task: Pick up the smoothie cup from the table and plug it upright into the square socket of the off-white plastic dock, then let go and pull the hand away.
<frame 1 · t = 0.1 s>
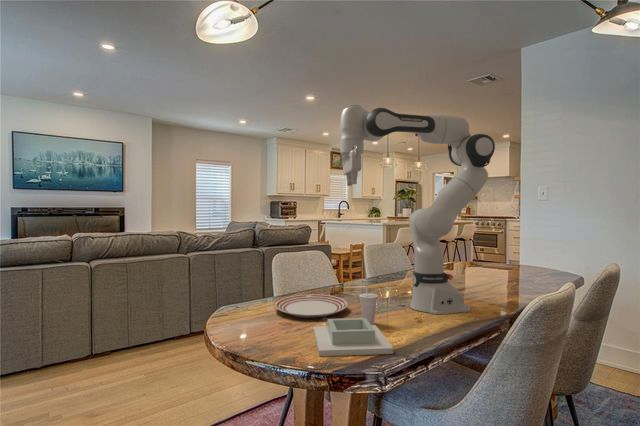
hand: (351, 185, 143), 48 cm above the table, fingers open, 8 cm apart
dinner plate: (311, 311, 143), on the table
smoothie: (368, 324, 126), on the table
socket dock: (350, 341, 109), on the table
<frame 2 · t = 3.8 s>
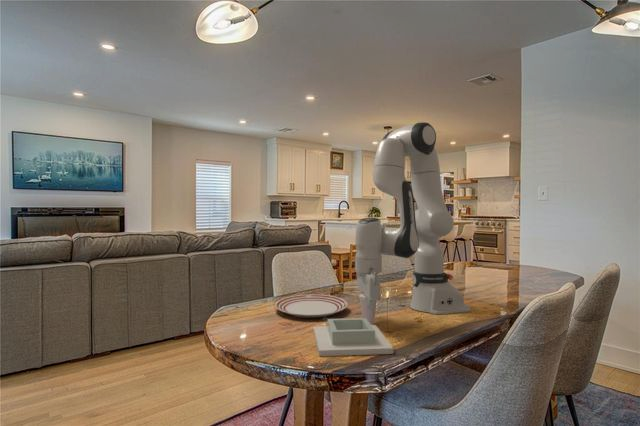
hand: (368, 307, 126), 6 cm above the table, fingers closed on smoothie, 6 cm apart
smoothie: (368, 324, 126), on the table, touching gripper
everything else where it was.
when the fingers open (8 cm above the table, at t = 14.8 s): smoothie stays where it is, resting on socket dock.
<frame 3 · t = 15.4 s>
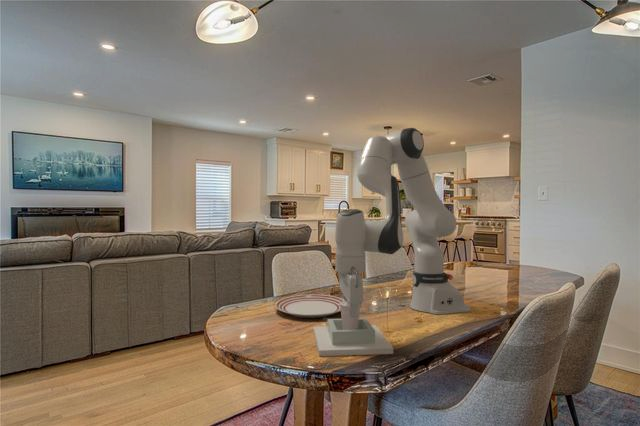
hand: (350, 312, 109), 9 cm above the table, fingers open, 8 cm apart
smoothie: (350, 336, 110), point 1 cm above the table, touching socket dock
everything else where it was.
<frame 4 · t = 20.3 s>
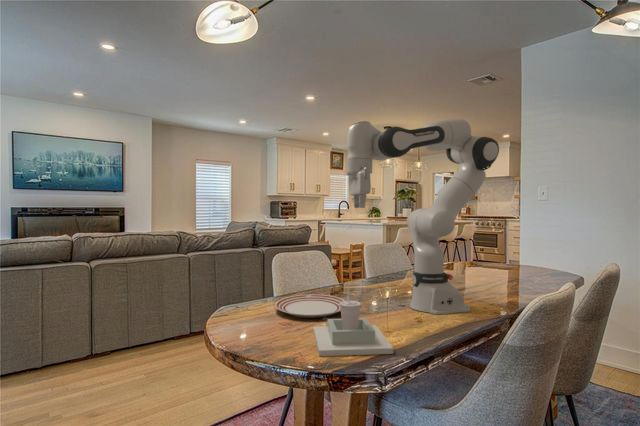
hand: (359, 207, 131), 39 cm above the table, fingers open, 8 cm apart
nothing on the table moved.
at the end: smoothie 0.1 cm off-centre on the socket dock, point 1.4 cm above the socket dock's base; smoothie tilted 0°; the gripper is holding nothing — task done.
